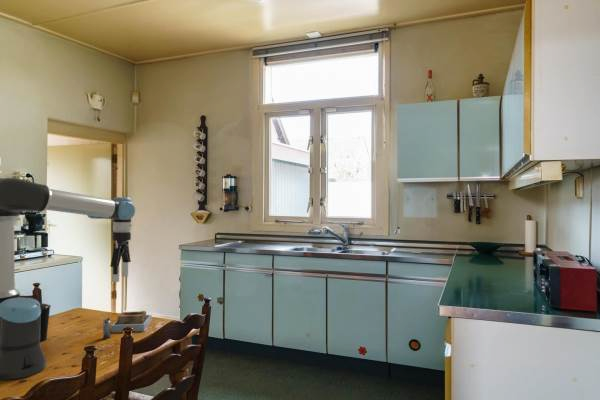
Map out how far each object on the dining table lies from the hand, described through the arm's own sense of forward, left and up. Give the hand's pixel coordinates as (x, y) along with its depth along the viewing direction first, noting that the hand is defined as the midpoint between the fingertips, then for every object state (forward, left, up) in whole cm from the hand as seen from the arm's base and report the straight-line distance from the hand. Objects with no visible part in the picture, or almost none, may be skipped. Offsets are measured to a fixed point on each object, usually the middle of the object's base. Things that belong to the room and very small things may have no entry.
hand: (120, 279), depth 187 cm
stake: (-13, +2, -22) cm, 26 cm away
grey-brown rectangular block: (+2, -5, -21) cm, 22 cm away
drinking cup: (-13, +28, -22) cm, 38 cm away
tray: (+2, -5, -22) cm, 23 cm away
